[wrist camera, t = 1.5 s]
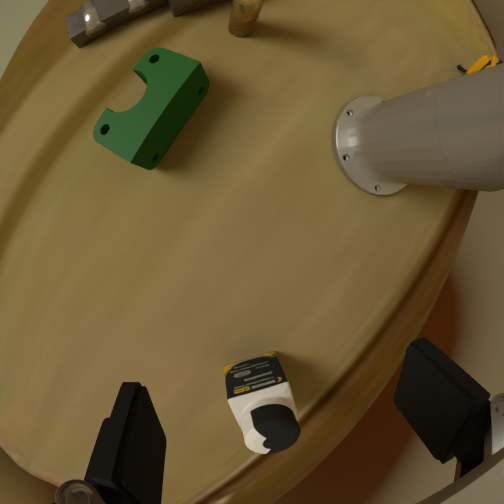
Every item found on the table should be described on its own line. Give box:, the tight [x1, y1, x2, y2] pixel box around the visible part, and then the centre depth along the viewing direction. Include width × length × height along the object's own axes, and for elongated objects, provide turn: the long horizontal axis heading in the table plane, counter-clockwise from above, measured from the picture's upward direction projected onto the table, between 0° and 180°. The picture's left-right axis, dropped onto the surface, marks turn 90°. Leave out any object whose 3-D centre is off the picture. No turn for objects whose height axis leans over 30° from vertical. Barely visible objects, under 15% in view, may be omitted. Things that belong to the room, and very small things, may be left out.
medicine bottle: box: [224, 352, 300, 454], centre depth 31 cm, size 7×7×12 cm
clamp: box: [93, 47, 209, 170], centre depth 25 cm, size 12×6×9 cm, turn 141°
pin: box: [228, 0, 264, 37], centre depth 21 cm, size 3×3×10 cm
